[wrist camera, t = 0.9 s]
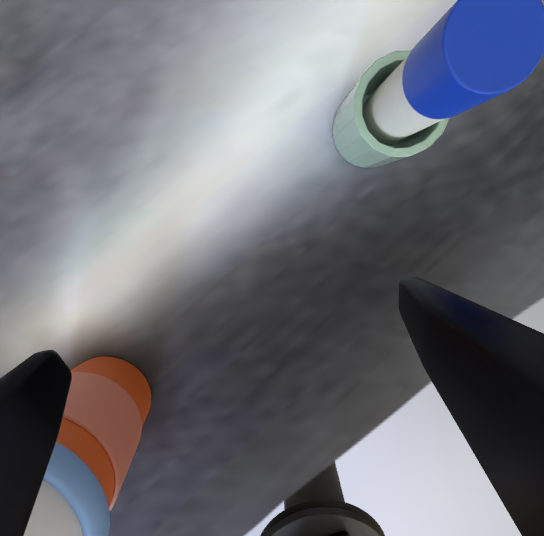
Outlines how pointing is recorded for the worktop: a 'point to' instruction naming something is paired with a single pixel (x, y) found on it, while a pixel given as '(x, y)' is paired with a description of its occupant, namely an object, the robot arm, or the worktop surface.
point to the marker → (458, 66)
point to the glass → (352, 128)
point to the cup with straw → (91, 449)
